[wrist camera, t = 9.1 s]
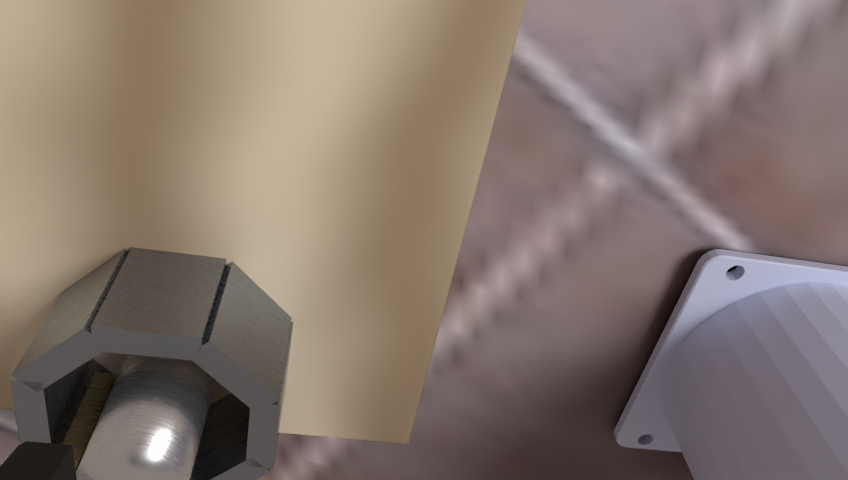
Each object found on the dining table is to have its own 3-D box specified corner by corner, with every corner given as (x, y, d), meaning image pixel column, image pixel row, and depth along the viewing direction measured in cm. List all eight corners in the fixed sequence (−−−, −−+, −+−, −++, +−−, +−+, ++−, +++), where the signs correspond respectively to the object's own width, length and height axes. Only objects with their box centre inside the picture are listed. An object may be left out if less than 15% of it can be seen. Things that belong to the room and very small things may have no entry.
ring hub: (299, 267, 18) (287, 347, 16) (281, 425, 21) (268, 512, 19) (52, 237, 17) (-3, 316, 15) (72, 407, 20) (30, 496, 18)
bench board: (649, -532, 11) (675, -561, 10) (406, 414, 23) (408, 443, 22) (-355, -846, 9) (-444, -920, 8) (-55, 372, 21) (-77, 402, 20)
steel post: (224, 321, 19) (187, 453, 15) (220, 385, 20) (186, 520, 17) (111, 309, 19) (46, 442, 15) (115, 375, 20) (56, 511, 16)
